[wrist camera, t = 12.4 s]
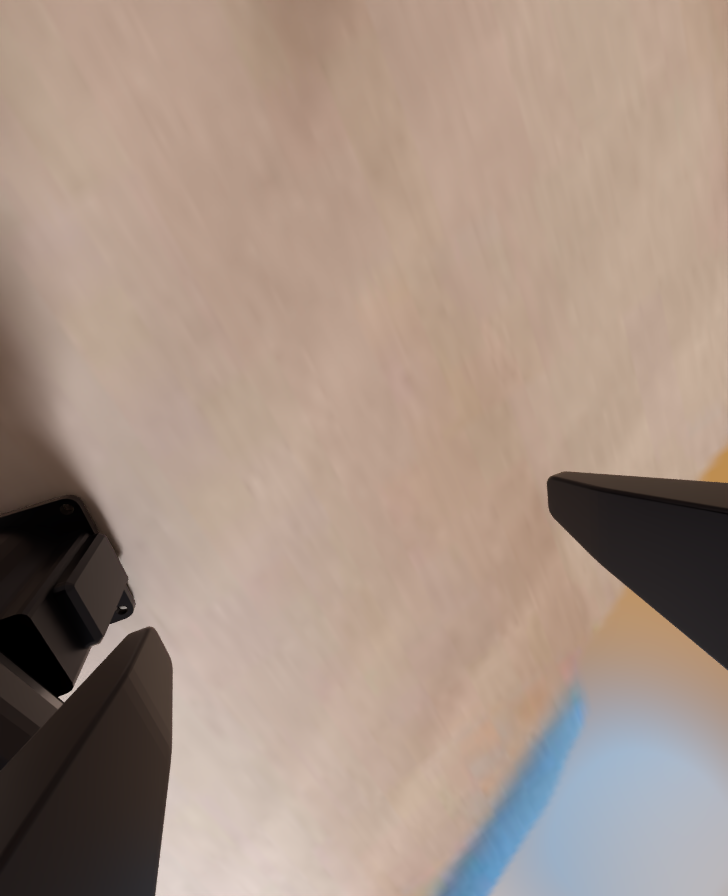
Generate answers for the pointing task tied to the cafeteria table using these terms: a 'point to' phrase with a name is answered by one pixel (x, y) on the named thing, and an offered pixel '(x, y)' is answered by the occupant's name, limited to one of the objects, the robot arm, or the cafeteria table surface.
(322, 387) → the cafeteria table surface
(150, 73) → the cafeteria table surface
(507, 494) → the cafeteria table surface
